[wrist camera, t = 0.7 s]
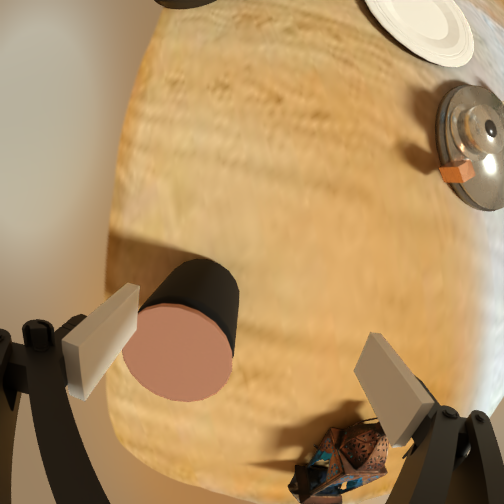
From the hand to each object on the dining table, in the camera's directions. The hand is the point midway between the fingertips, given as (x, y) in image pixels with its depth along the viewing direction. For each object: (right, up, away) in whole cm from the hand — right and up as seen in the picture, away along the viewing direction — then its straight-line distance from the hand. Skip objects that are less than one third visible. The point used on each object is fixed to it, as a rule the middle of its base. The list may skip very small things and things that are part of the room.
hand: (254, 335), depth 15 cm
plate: (+31, +48, +17) cm, 59 cm away
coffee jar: (-7, -1, +27) cm, 28 cm away
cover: (+35, +24, +19) cm, 46 cm away
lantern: (+19, -36, +35) cm, 53 cm away
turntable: (+39, +22, +20) cm, 49 cm away
